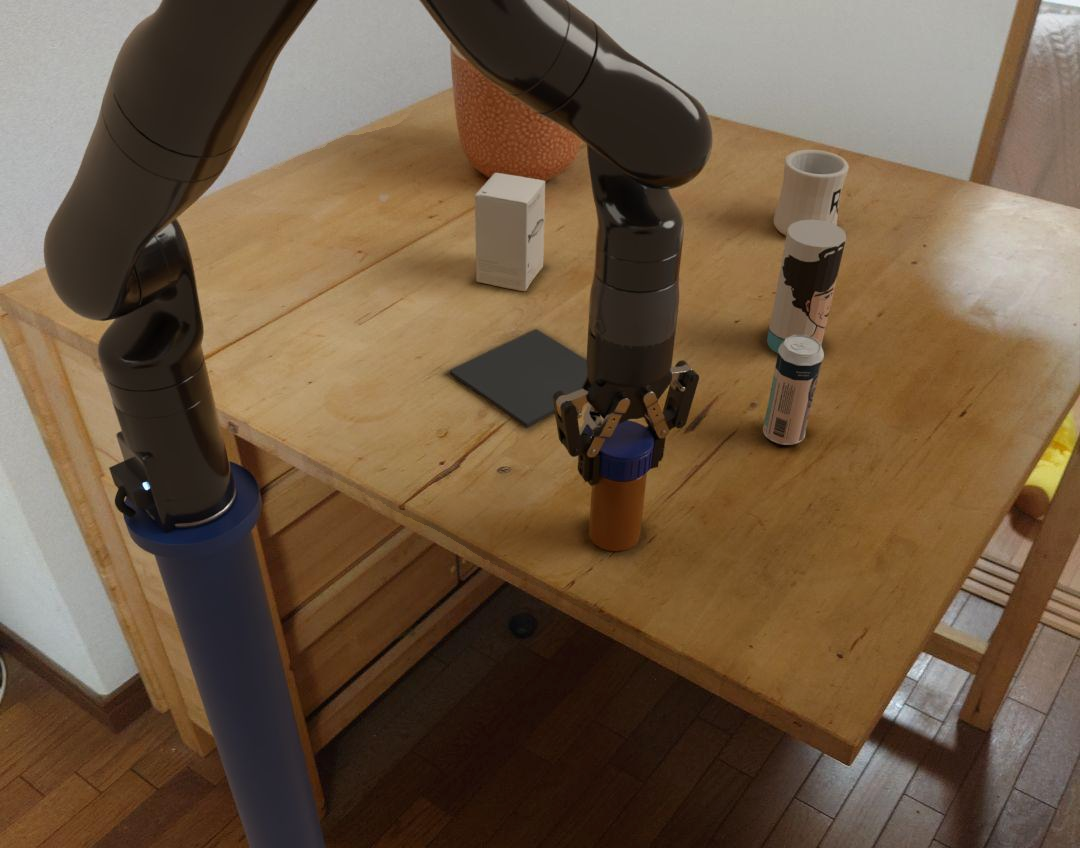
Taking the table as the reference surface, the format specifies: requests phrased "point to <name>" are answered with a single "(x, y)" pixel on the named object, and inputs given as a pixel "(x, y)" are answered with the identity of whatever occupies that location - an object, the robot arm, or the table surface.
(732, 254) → the table surface
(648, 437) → the jar lid
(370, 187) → the table surface
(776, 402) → the beer can
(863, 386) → the table surface
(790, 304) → the white cylindrical canister
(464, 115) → the planter
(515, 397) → the mat
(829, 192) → the mug
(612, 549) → the jar
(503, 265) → the white packaging box
